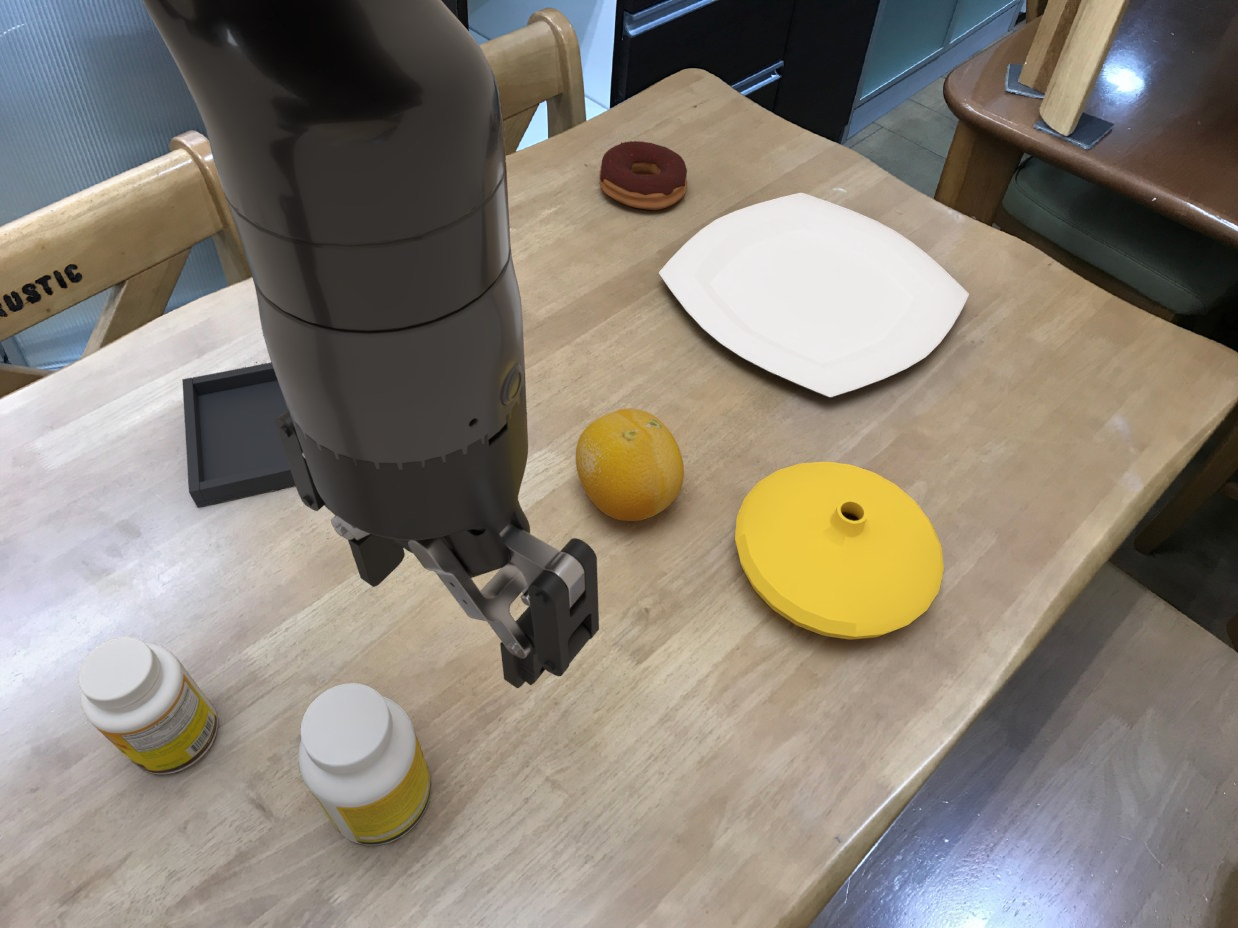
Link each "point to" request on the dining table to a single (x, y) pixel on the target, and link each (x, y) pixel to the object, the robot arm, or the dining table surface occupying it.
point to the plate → (814, 293)
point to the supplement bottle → (146, 704)
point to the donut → (643, 175)
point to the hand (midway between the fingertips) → (453, 618)
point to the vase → (838, 550)
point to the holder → (234, 435)
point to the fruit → (629, 464)
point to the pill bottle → (364, 764)
